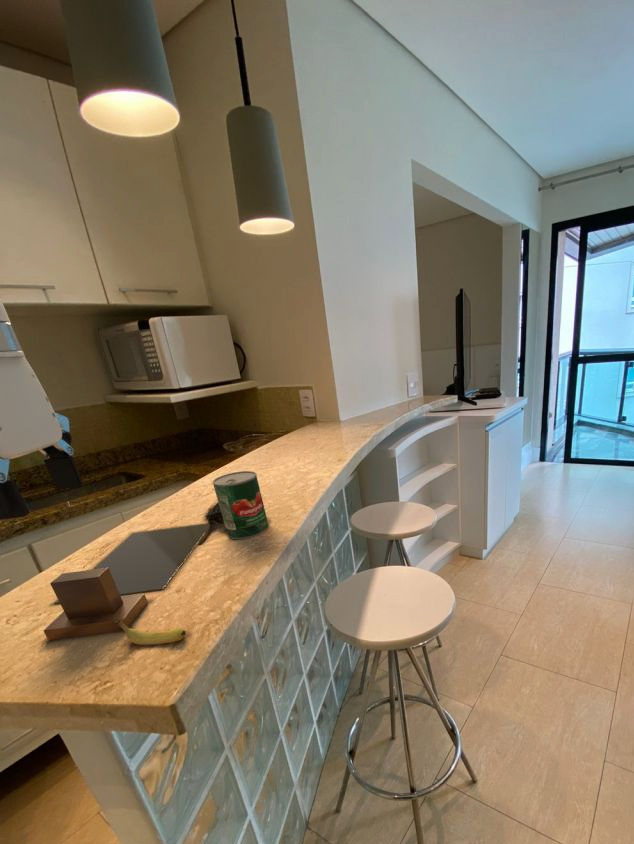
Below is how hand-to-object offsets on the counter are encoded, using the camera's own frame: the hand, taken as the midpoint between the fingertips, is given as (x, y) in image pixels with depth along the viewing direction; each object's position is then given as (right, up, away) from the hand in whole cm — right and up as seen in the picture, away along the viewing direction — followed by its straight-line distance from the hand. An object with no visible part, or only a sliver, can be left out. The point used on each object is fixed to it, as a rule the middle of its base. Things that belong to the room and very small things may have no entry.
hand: (44, 500), depth 48 cm
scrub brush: (+2, -17, +7) cm, 18 cm away
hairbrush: (+4, 0, +46) cm, 46 cm away
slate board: (-2, -10, +24) cm, 26 cm away
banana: (+12, -18, +2) cm, 22 cm away
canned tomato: (+14, -5, +32) cm, 35 cm away
